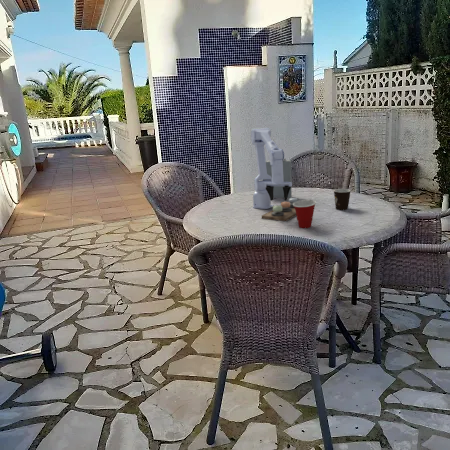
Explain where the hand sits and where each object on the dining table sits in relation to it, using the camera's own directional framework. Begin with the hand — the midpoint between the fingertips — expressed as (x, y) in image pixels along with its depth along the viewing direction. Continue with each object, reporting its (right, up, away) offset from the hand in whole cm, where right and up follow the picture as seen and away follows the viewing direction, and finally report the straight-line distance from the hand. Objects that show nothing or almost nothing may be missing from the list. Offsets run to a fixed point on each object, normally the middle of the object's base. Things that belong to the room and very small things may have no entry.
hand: (278, 200), depth 217 cm
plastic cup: (+10, -14, -15) cm, 23 cm away
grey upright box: (+5, +5, +47) cm, 47 cm away
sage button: (0, -5, +1) cm, 5 cm away
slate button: (+10, 0, +15) cm, 18 cm away
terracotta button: (+5, -3, +8) cm, 10 cm away
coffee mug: (+36, -4, +13) cm, 38 cm away
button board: (+5, -6, +9) cm, 12 cm away
